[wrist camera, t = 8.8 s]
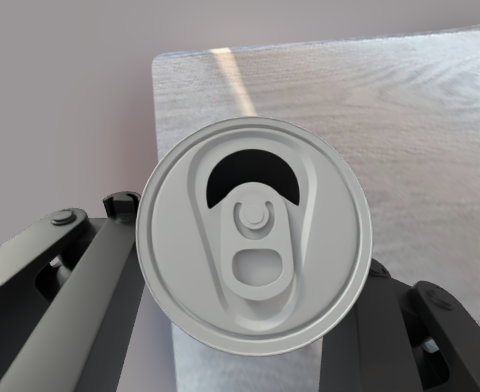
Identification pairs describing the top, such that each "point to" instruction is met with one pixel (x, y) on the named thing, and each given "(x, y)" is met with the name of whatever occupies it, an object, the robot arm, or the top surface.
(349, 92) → the top surface
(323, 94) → the top surface
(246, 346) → the beverage can
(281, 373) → the top surface
